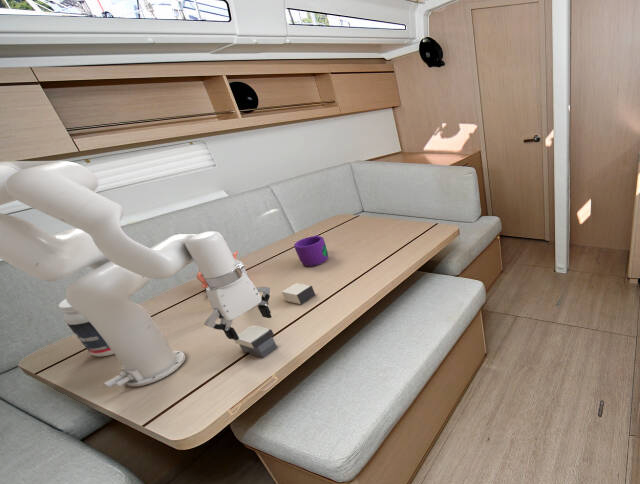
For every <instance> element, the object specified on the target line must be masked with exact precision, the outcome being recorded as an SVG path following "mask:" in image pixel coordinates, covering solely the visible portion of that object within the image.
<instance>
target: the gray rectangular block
mask: <svg viewBox="0 0 640 484" xmlns="http://www.w3.org/2000/svg"><path fill="white" fill-rule="evenodd" d="M238 345H239V346H240V348H241V350H242V352H244V353H248V354H250V355H254V356H256V357H260V358H266V357H267V356H268V355H270V354H271V353H272V352H273V351H275V350H276V349H278V345H277V343H276V341H275V339H274V336H272V337H270V338H269V339H268V340H266V341H265V342H263V343H262V344H261V345H259V346H258V347H256V348H255V349H254V348H251V347H247V346H244V345H241V344H238Z"/></svg>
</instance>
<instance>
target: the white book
mask: <svg viewBox="0 0 640 484" xmlns="http://www.w3.org/2000/svg"><path fill="white" fill-rule="evenodd" d="M237 335H238V337H239V339H238V340H234V339H233V341H234V343H235V344H238V345H239V344H241V345H244V346H247V347H251V348H254V349H255V348H256V347H258V346H259V345H261V344H262V343H263V342H265V341H266V340H268V339H269V338H270V337H274V336H275V334H274V332H273V330H272V329H271V328H267V327H263V326H259V325H255V324H252V325H251V326H249V327H246V329H244V330H243V331H241V332H240V333H237Z"/></svg>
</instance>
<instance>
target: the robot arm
mask: <svg viewBox="0 0 640 484" xmlns="http://www.w3.org/2000/svg"><path fill="white" fill-rule="evenodd" d="M98 180H99V179H98V178H97V176H96V175H95V173H94V172H93V171H92V170H90V169H89V168H87V167H86V166H84V165H82V164H79V163H76V162H72V161H67V160H18V161H17V160H13V161H12V160H9V161H0V206H2V205H6V204H10V203H12V202H13V203H14V202H16V201H17V202H20V203H22V204H24V205H26V206H28V207H30V208H32V209H35V210H37V211H38V212H41V213H43V214H45V215H46V216H50V217H52V218H54V219H55V220H58V221H60V222H62V223H64V224H67V225H69V226H71V227H73V228H69V229H65V230H63V231H59V232H58V233H55V234H51V233H49V232H47V231H45V230H43V229H41V228H39V227H38V226H36V225H34V224H33V223H31V222H30V221H28V220H25V219H23V218H20V217H17V216H13V215H10V214H6V213H2V212H0V259H1V260H2V261H4V262H6V263H7V264H10V265H11V266H13V267H15V268H16V269H19V270H20V271H22V272H24V273H26V274H28V275H29V276H32V277H34V278H36V279H38V280H41V281H43V282H58V281H59V282H60V281H62V280H64V279H68V278H69V277H72V276H74V275H75V274H77V273H79V272H81V271H83V270H84V269H86V268H88V267H89V268H90V269H92V270H91V271H88V272H87V273H86V274H83V275H82V276H80V277H78V278H77V279H76V280H74V282H72V283H71V284H70V285H69V286H68V288H67V289H66V292H65V299H66V300H67V302H68V304H69V305H70V306H71V307H72V308H74V309H75V310H76V311H77V312H79V313H80V314H81V315H82V316H84V317H85V318H86V319H87V320H88V321H89V322H90V323H91V324H92V325H93V327H94V328H95V329H96V330H97V332H98V333H99V334H100V335H101V337H102V338H103V339H104V340H105V342H106V343H107V344H108V346H109V347H110V348H111V350H112V351H113V352H114V354H113V355H115V357H116V358H117V360H118V361H119V362H120V363H121V365H122V367H121V368H120V370H121V372H119V373H118V375H115V376H114V377H112V378H110V379H109V380H107V381H105V382H104V383H103V385H104V386H105V387H106V389H108V390H109V389H112V388H113V387H115V386H117V387H118V388H120V387H121V386H123V385H125V384H126V385H127V386H129V387H143V386H147V385H151V384H152V383H155V382H158V381H160V380H163V379H164V378H166V377H168V376H169V375H171V374H172V373H174V372H175V371H177V370H178V369H179V368H180V367H181V366H182V365H183V364H184V362H185V361H186V355H185V353H184V352H183V351H181V350H173V348H172V347H171V345H170V344H169V342H168V340H167V339H166V338H165V336H164V335H163V332H162V331H161V329H159V327H158V325H157V324H156V322H155V321H154V320H153V318H152V316H151V315H150V313H149V312H148V311H147V309H145V307H144V306H142V305H140V304H138V303H136V302H134V301H132V300H131V299H130V297H132V295H134V294H135V293H136V292H138V291H139V290H140V289H142V288H143V287H144V286H145V285H147V284H148V283H149V282H150V281H151V279H153V280H164V279H165V280H166V279H168V278H171V277H173V276H175V275H176V274H177V273H179V272H181V270H183V269H184V268H185V267H187V266H188V265H189V264H191V263H193V262H194V264H195V265H196V267H197V269H198V271H199V270H200V272H201V274H202V275H203V277H204V279H205V281H206V282H207V284H208V286H209V287H207V288H205V292H206V296H207V299H208V302H209V304H210V306H211V309H212V312H211V314H210V315H209V316H208V318H207V319H206V320H205V321H204V325H205V326H206V327H209V328H211V329H214V330H219V331H223V333H224V334H225V336H226V338H227V339H229V340H233V341H234V340H238V339H239V337H238V333H237V331H236V330H235V328H234V327H233V326H232V323H233V321H234V320H235V319H237V318H239V317H240V316H242V315H244V314H246V313H247V312H249V311H251V310H252V309H254V308H255V307H257V308H258V310H259V313H260V314H261V317H262V318H265V319H272V314H271V313H272V312H271V310H270V308H269V306H268V305H269V300H270V298H271V294H270V293H271V288H270V287H269V286H259V287H258V286H257V287H256V286H255V284H254V282H253V281H252V280H251V279H250V278H248V277H249V276H248V277H247V276H246V275H245V274H244V273H242V271H241V270H242V269H243V268H245V265H244V263H242V264H240V265H237V263H236V261H235V259H234V257H233V253H232V251H231V249H230V246H229V245H228V243H227V241H226V239H225V238H224V236H223V234H222V233H221V232H219V231H216V230H210V231H203V232H200V233H179V234H174V235H170V236H168V237H167V238H165V239H163V240H161V241H160V242H158V243H156V244H154V245H152V246H151V247H148V246H145V245H144V244H141V243H140V242H138V241H136V240H134V239H132V238H131V237H130V236H128V235H127V234H126V232H125V231H124V230H123V229H122V227H121V220H122V218H123V216H124V215H125V209H124V207H123V206H122V205H121V204H120V203H118V202H115V201H113V200H111V199H110V198H107V197H106V196H104V195H101V194H99V193H98V192H95V191H96V190H97V189H98V187H99V181H98ZM260 293H262V295H261V294H260ZM217 319H218V320H220V321H219V323H216V321H217Z"/></svg>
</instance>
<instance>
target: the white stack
mask: <svg viewBox="0 0 640 484" xmlns="http://www.w3.org/2000/svg"><path fill="white" fill-rule="evenodd" d="M281 294H282V295H283V299H284V301H285V302H288V303H295V304H298V305H303V304H304V303H306V302H308V301H309V300H310V299H312V298H313V297H315V296H316V293H315V290H314V288H313V285H308V284H304V283H298V282H296V283H294V284H292V285H291V286H288V287H287V288H285V289H283V290H282V291H281Z"/></svg>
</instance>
